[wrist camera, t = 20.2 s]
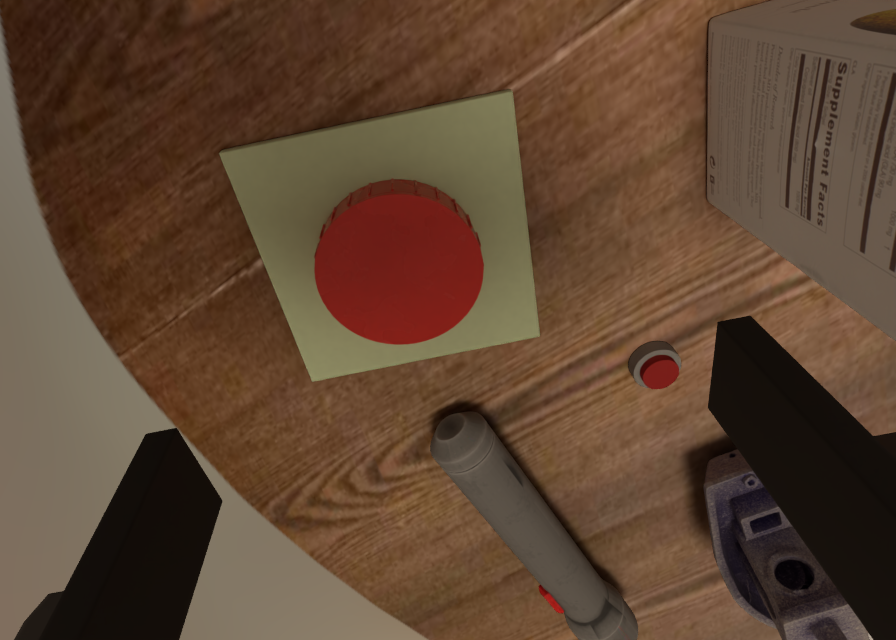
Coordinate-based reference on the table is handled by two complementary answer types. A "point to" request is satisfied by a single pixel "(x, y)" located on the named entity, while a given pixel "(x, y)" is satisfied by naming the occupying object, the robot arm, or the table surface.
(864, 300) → the supplement box
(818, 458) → the robot arm
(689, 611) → the table surface
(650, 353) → the push button
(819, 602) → the toy boat
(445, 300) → the lid
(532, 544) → the flashlight
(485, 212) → the mat
